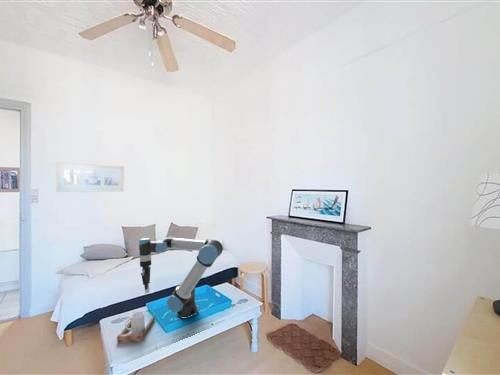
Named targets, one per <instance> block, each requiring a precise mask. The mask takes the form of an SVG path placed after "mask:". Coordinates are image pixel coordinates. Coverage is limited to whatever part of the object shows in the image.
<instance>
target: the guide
mask: <svg viewBox="0 0 500 375" xmlns="http://www.w3.org/2000/svg"><path fill="white" fill-rule="evenodd" d="M155 320H156V316H151V318H150V320H149V321H148V323H147V324H146V325H145V329H144V331H143V332H142V334H131V333H128V332H129V331H130V330H128V329H126V327H127V328H129V329H130V328H131V320H129V321H128V322H127V323H128V324H126V327H124V329H123V330H122V331H121V333H119V334H117V336H116V338H117V340H116V342H117V344H120V343H121V344H122V343H124V344H126V343H143V341H144V339H145V338H146V336H147V334H148V333H149V330H150V329H151V328H152V326H153V324H154V323H155ZM127 333H128V334H127Z"/></svg>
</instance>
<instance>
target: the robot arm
mask: <svg viewBox="0 0 500 375" xmlns="http://www.w3.org/2000/svg"><path fill="white" fill-rule="evenodd" d="M138 249H139V251H138V252H139V256H138V257H139V266H140V267H141V268H142V269H141V271H142V272H141V273H140V276H141V279H142V285H144V294H149V293H150V284H151V265H152V253H159V254H163V253H166V251H167V249H176V250H185V251H187V250H189V251H197V252H198V254H197V255H196V262H195V263H194V264H193V265H192V267H191V269H190V271H189V272H188V274H187V275H186V277H185V278H184V279H183V281H181V282H180V283H178V285H177V286H176V287H175V289H174V291H173V292H172V294H171V295H170V296H168V297H167V299H166V305H167V308H168V310H170V311H171V312H174V313H176V316H177V317H178V316H179V317H188V316H191V315H194V314H195V313H197V312H199V310H198V306H197V302H196V286H197V284H198V282H200V279H202V277H203V275H204V274H205V272H206V271H207V270H208V268H212V266H213V264H214V263H215V261H216V260H217V259H218V258H219V257H220V255H221V254H222V253H223V249H224V248H223V244H222V243H221V241H219V240H216V239H205V240H203V239H202V240H201V239H191V238H190V239H189V238H179V237H177V238H176V237H173V236H170V235H169V236H166V237H164V238H161V239H160V240H157V241H156V240H155V241H152V240H151V238H150V237H143V238H139V240H138ZM197 314H198V313H197ZM179 317H178V318H179Z"/></svg>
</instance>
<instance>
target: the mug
mask: <svg viewBox="0 0 500 375" xmlns="http://www.w3.org/2000/svg"><path fill="white" fill-rule="evenodd" d="M145 319H146V318H145V312H144V311H142V310H141V311H140V310H139V311H135V312H133V313H132V314H131V315H130V318H128V319H127V320H126V322H125V323H124V326H125V327H126V326H127V323H129V322H130V321H131V328H130V329H129V328H127V327H126V329H128V330H129V331H130V332H131V333H130V334H142V332H143V331H144V329H145V328H146V325H145V324H146V322H145V321H146V320H145ZM125 327H124V328H125Z"/></svg>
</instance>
